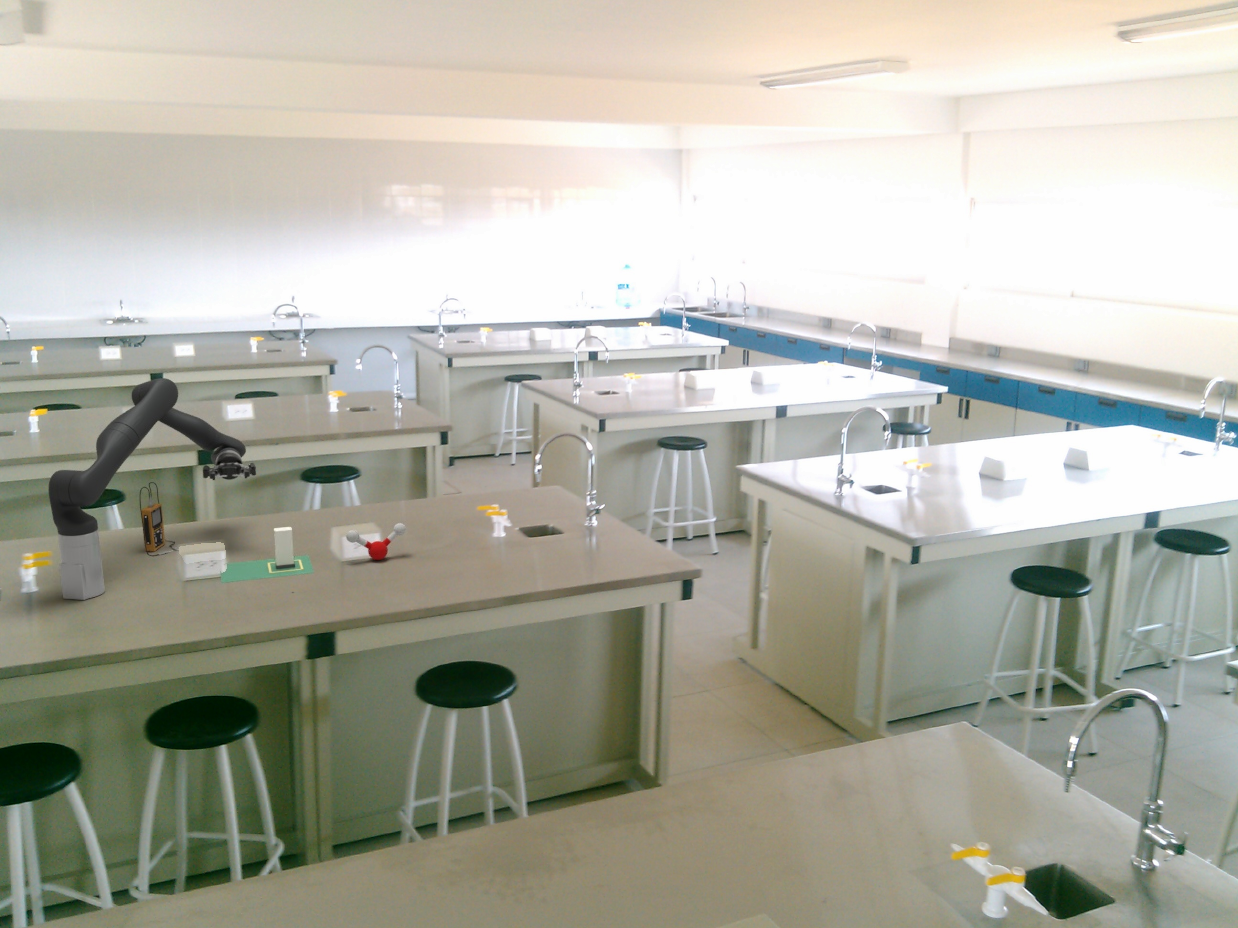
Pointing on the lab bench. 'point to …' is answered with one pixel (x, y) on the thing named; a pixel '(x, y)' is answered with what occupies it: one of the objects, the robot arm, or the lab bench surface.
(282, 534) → the plug
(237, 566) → the circuit board
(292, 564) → the pin header
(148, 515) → the multimeter
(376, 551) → the molecular model
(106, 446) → the robot arm
